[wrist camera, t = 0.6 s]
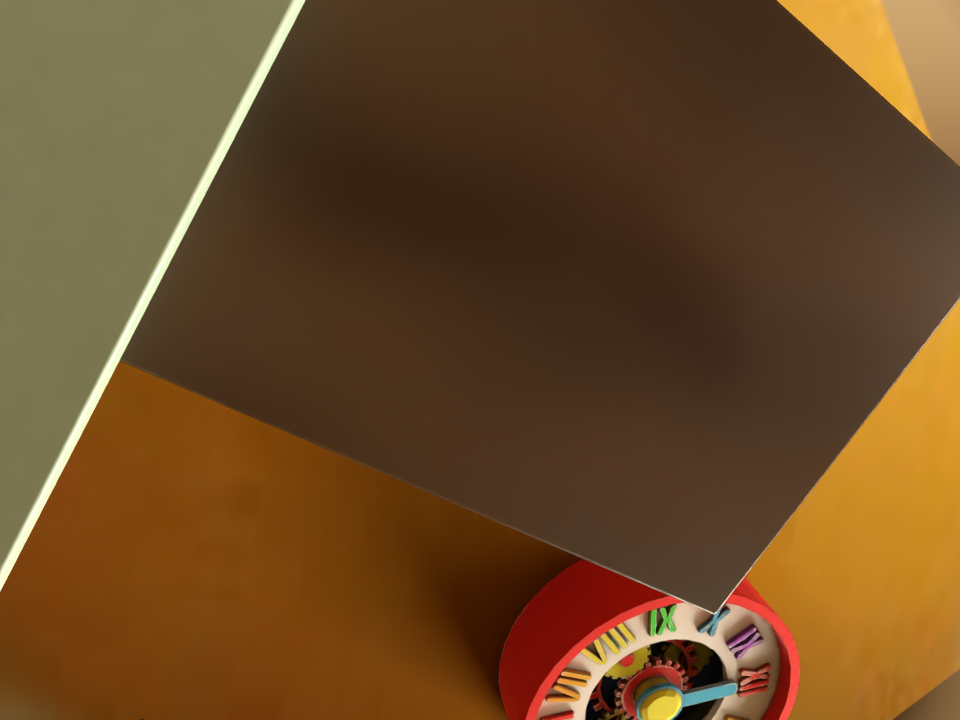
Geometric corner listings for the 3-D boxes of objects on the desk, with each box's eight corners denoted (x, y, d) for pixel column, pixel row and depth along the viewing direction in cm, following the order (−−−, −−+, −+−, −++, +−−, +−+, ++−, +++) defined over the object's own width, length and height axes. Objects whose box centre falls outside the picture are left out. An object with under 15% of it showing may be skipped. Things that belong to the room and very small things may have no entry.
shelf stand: (192, -140, 32) (-185, -879, 7) (557, 117, 40) (1023, 220, 14) (94, 71, 34) (-479, 108, 9) (459, 278, 42) (715, 617, 16)
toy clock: (515, 628, 44) (816, 564, 48) (491, 567, 49) (764, 514, 53) (526, 854, 52) (784, 784, 56) (504, 780, 57) (742, 721, 61)
